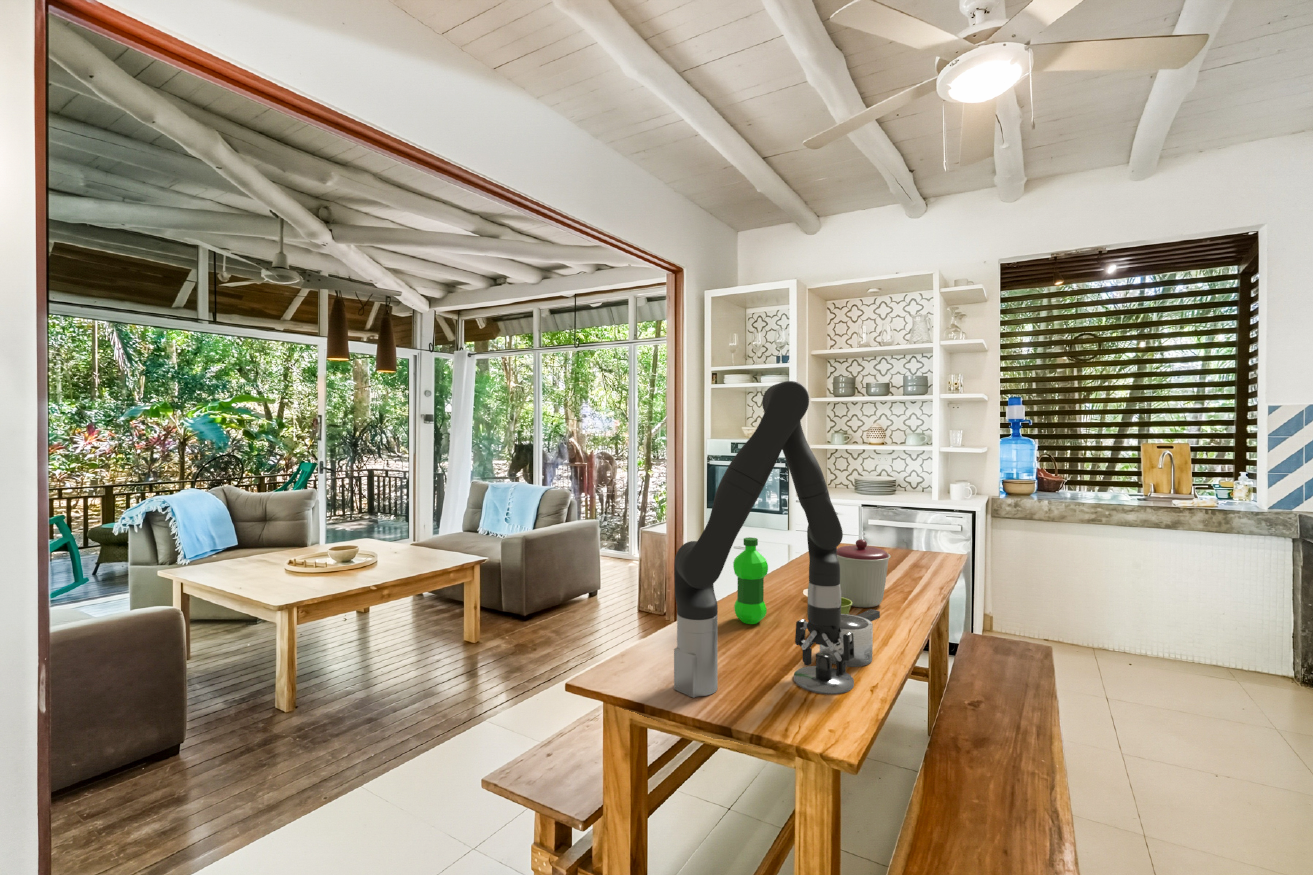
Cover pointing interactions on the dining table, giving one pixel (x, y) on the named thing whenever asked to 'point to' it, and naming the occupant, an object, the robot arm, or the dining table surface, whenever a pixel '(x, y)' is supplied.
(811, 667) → the lid
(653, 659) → the dining table surface
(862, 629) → the cooker pot
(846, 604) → the plant pot
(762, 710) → the dining table surface
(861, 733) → the dining table surface
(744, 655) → the dining table surface
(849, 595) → the canister
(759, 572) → the plastic bottle
